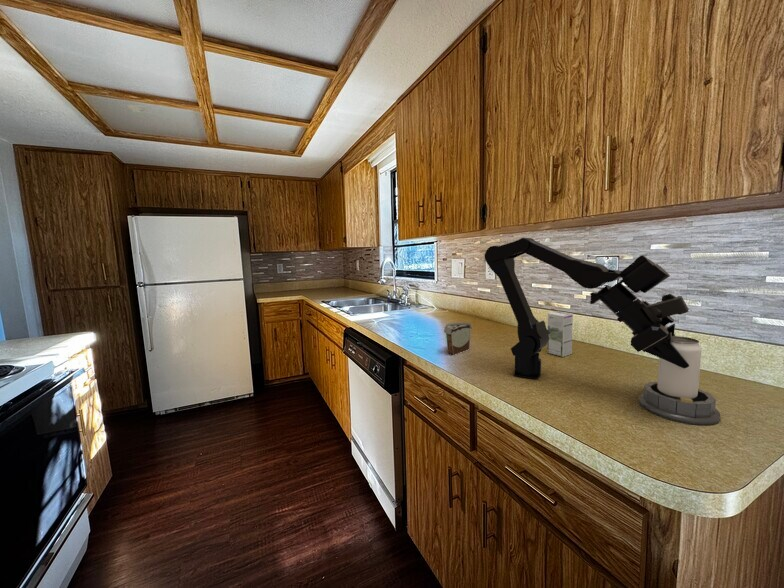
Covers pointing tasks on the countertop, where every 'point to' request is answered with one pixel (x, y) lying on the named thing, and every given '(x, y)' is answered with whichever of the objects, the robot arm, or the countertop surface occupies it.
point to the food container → (458, 337)
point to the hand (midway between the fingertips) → (687, 362)
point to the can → (681, 370)
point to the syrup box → (560, 333)
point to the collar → (680, 406)
